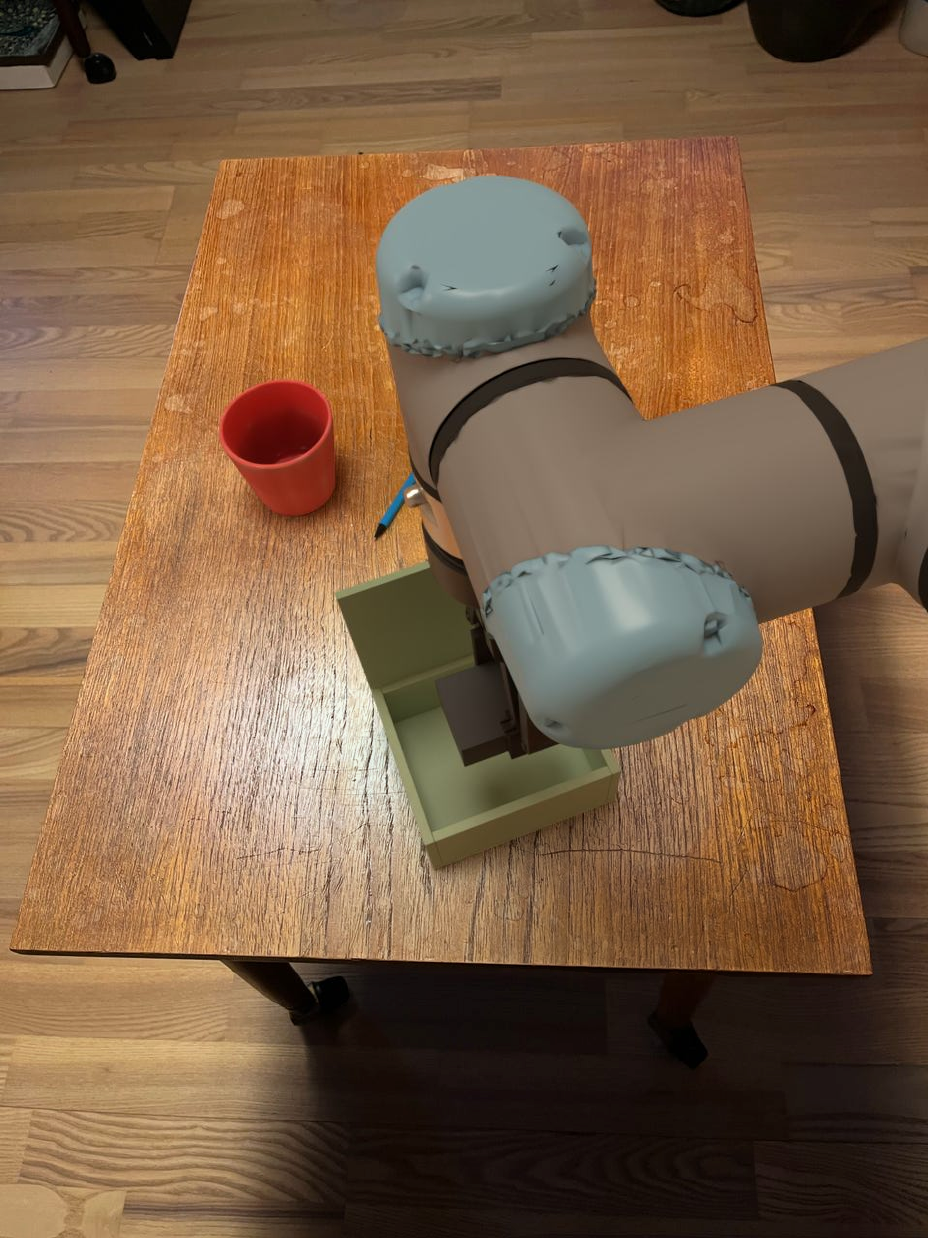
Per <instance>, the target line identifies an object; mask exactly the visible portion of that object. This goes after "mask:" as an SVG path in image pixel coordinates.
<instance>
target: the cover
mask: <svg viewBox="0 0 928 1238" xmlns="http://www.w3.org/2000/svg"><path fill="white" fill-rule="evenodd" d="M334 596H335V599H336V601H337V604H338V607H339V609H340V613H341V615H342V617H343V620H344V622H345V623H344V624H345V626H346V629H347V630H348V634H349V636H350V639H351V642H352V644H353V647H354V649H355V652H356V655H357V657H358V660H359V663H360V666H361V668H362V670H363V673H364V676H365V679H366V681H367V684H368V687H369V690H371V689H374V688H377V687H380V686H383V685H386V684H388V683H391V682H394V681H397V680H400V679H402V678H405V677H408V676H411V675H414V674H416V673H419V672H422V671H425V670H428V669H430V668H433V667H436V666H439V665H442V664H444V663H447V662H450V661H453V660H456V659H458V658H461V657H464V656H467V655H470V654H472V653H473V646H472V639H471V631H470V630H471V629H474V628H475V625H471V624H470V622H469V621H467V619H466V615H465V614H466V612H465V610H466V605H464V604H462V603H460V602H458V601H456V600H455V599H453V598H452V597H451V596H450V595H448V594H447V593H446V592H445V591H444V590H443V589H442V588H441V586H440V585H439V584H438V582H437V581H436V579H435V578H434V576H433V574H432V572H431V569H430V566H429V562H428V560H425V561H423V562H419V563H416V564H413V565H410V566H408V567H405V568H401V569H399V570H396V571H393V572H390V573H388V574H387V573H386V574H385V575H382V576H378V577H377V578H372V579H370V580H367V581H363V582H361V583H359V584H355V585H353V586H349V587H347V588H344V589H341V590H337V591H335V592H334Z"/></svg>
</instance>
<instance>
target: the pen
mask: <svg viewBox="0 0 928 1238" xmlns="http://www.w3.org/2000/svg"><path fill="white" fill-rule="evenodd" d="M414 484H416V481H415V479H414V475H413V471H412V470H411V473H410V474H409V476H408V477H407V478H406V480H405V482H404V483H403V485H402V487H401V488H400V490H399V491H398V493H397V495H396V496H395V498H393V499H394V500H393V501H392V502H391V504H390V506H389V507H388V509H386V511H385V513H384V514H383V516H382V518H381V519H380V521H379V522H378V526H377V527H376V530H375V533H374V536H373V540H377V538H379V537H380V536H381V535H382V534H383V533H384V532H385V531H386V530H387V529H388V527H389V525H390V524H391V522H392V521H393V519H394V518H395V516H396V514H397V513H398V511H399V510H400V508H401V507H402V505H403V503H405V499H404V496H403V491H404V489H405V488H408V487H410V486H412V485H414Z"/></svg>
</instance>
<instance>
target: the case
mask: <svg viewBox="0 0 928 1238" xmlns="http://www.w3.org/2000/svg"><path fill="white" fill-rule="evenodd" d="M472 667H475V661H474V653H472V654H470V655H467V656H464V657H461V658H458V659H456V660H453V661H450V662H447V663H444V664H442V665H439V666H436V667H433V668H430V669H428V670H425V671H422V672H419V673H416V674H414V675H411V676H408V677H405V678H402V679H400V680H397V681H394V682H391V683H388V684H386V685H383V686H380V687H377V688H374V689H370V692H371V695H372V698H373V701H374V703H375V707H376V710H377V713H378V716H379V718H380V721H381V725H382V727H383V729H384V730H383V731H384V733H385V736H386V738H387V742H388V744H389V747H390V750H391V752H392V753H391V754H392V756H393V758H394V761H395V764H396V767H397V770H398V772H399V775H400V779H401V781H402V784H403V787H404V790H405V793H406V796H407V799H408V802H409V805H410V808H411V810H412V814H413V816H414V819H415V823H416V825H417V827H418V828H417V829H418V831H419V835H420V837H421V840H422V843H423V845H424V848H425V851H426V854H427V856H428V858H429V861H430V863H431V866H432V869H433V870H434V871H436V870H438V869H441V868H443V867H446V866H448V865H451V864H453V863H456V862H460V861H461V860H464V859H467V858H469V857H472V856H474V855H477V854H480V853H482V852H485V851H487V850H490V849H493V848H495V847H498V846H500V845H503V844H505V843H506V844H507V843H508V842H511V841H513V840H516V839H519V838H521V837H524V836H528V835H529V834H532V833H534V832H537V831H541V830H542V829H545V828H547V827H550V826H552V825H555V824H557V823H560V822H563V821H565V820H568V819H572V818H574V817H577V816H579V815H582V814H585V813H586V812H589V811H592V810H594V809H597V808H600V807H602V806H605V805H607V804H610V803H612V802H613V803H614V802H615V801H616V798H617V792H618V789H619V784H620V778H621V775H622V769H621V767H620V765H619V763H618V760H617V758H616V756H615V754H614V752H613V749H603V750H590V749H580V748H573V747H569V746H565V745H562V744H558V745H555V746H552V747H549V748H547V749H544V750H541V751H539V752H536V753H533V754H530V755H528V754H526V755H523V756H521V757H518V758H515V759H512V760H511V757H510V755H509V752H505V753H502V754H499V755H497V756H494V757H491V758H488V759H486V760H483V761H480V762H478V763H475V764H472V765H469V766H467V767H464V764H463V762H462V759H461V756H460V754H459V751H458V748H457V746H456V743H455V741H454V738H453V735H452V733H451V730H450V727H449V725H448V722H447V720H446V717H445V714H444V712H443V709H442V706H441V704H440V701H439V698H438V694H437V689H436V685H435V680H438V679H441V678H444V677H446V676H449V675H452V674H455V673H458V672H461V671H463V670H466V669H469V668H472Z"/></svg>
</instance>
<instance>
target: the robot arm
mask: <svg viewBox="0 0 928 1238" xmlns="http://www.w3.org/2000/svg"><path fill="white" fill-rule="evenodd" d="M590 234H591V233H590V231H589V228H588V225H587V222H586V220H585V219H584V217H583V216H582V214H581V213H580V211H579V210H578V209H577V207H576V206H575V205H574V204H573V203H572V202H571V201H570V200H568V199H567V198H566V197H565V196H564V195H562V194H561V193H559V192H558V191H556V190H554V189H553V188H551V187H548V186H546V185H544V184H541V183H538V182H536V181H533V180H530V179H525V178H521V177H516V176H506V175H478V176H476V175H475V176H470V177H467V178H464V179H463V180H459V181H457V182H451V183H447V184H439V185H437V186H434V187H432V188H429V189H427V190H425V191H424V192H422V193H420V194H418V195H417V196H415V197H414V198H412V199H411V200H409V201H408V202H407V203H406V204H404V206H402V207H401V208H400V209H398V210H397V212H396V213H395V214H394V215H393V217H391V219H390V220H389V222H388V223H387V225H386V226H385V227H384V229H383V231H382V234H381V237H380V238H379V242H378V245H377V247H376V251H375V259H374V260H375V265H374V266H375V274H376V276H375V277H376V284H377V290H378V299H379V306H380V308H379V309H380V311H379V313H378V315H377V323H378V327H379V329H380V331H381V333H383V336H384V338H385V341H386V346H387V351H388V355H389V360H390V366H391V369H392V375H393V380H394V384H395V389H396V394H397V398H398V403H399V409H400V414H401V418H402V421H403V426H404V430H405V432H404V433H405V437H406V441H407V449H408V450H407V451H408V456H409V462H410V467H411V472H412V471H413V475H414V479H415V481H416V483H415V484H414V485H412V486H410V487H408V488H405V489H404V491H403V496H404V499H405V500H404V504H405V505H406V506H407V507H408V508H410V509H413V508H417V507H418V508H419V514H420V517H421V529H422V535H423V540H424V545H425V551H426V556H427V561H428V562H429V566H430V569H431V572H432V574H433V576H434V578H435V579H436V581H437V582H438V584H439V585H440V586H441V588H442V589H443V590H444V591H445V592H446V593H447V594H448V595H450V596H451V597H452V598H453V599H455V600H456V601H458V602H460V603H462V604H464V605H466V610H465V612H466V614H465V615H466V619H467V621H469V622H470V624H471V625H475V628H474V629H471V630H470V631H471V639H472V646H473V653H474V661H475V666H477V665H480V664H483V663H486V662H489V661H492V660H494V659H495V661H497V662H500V666H501V671H502V676H503V681H504V686H505V691H506V696H507V701H508V706H509V709H508V710H505V711H504V712H505V719H503V720H500V721H499V722H500V725H501V728H502V731H503V733H504V735H505V737H507V748H508V752H509V755H510V757H511V760H512V759H515V758H518V757H521V756H523V755H526V754H528V755H530V754H533V753H536V752H539V751H541V750H544V749H547V748H549V747H552V746H555V745H558V744H562V745H565V746H569V747H573V748H580V749H590V750H603V749H611V750H613V749H619V748H620V749H621V748H625V747H630V746H634V745H638V744H642V743H645V742H648V741H651V740H655V739H657V738H658V739H659V738H660V737H663V736H666V735H668V734H671V733H673V732H674V731H676V729H678V728H679V727H680V726H682V725H683V724H685V723H687V722H689V721H691V720H696V719H699V718H703V717H705V716H707V715H709V714H710V713H712V712H714V711H715V710H717V709H718V708H720V707H722V706H723V705H724V704H725V703H727V702H728V701H729V700H731V699H732V698H733V697H734V696H735V695H736V694H737V693H739V692H740V691H741V690H742V689H743V688H744V687H745V686H746V685H747V683H748V682H749V681H750V680H751V679H752V677H753V676H754V674H755V672H756V671H757V669H758V668H759V665H760V663H761V660H762V657H763V653H764V651H763V650H764V640H763V635H762V632H761V628H760V625H761V624H765V623H767V622H771V621H773V620H777V619H780V618H784V617H786V616H789V615H793V614H796V613H799V612H803V611H805V610H808V609H811V608H815V607H818V606H821V605H824V604H827V603H830V602H832V601H835V600H836V601H837V600H839V599H842V598H845V597H848V596H851V595H854V594H857V593H861V592H865V591H869V590H871V589H875V588H878V587H881V586H885V585H888V584H894V585H898V586H899V587H901V588H902V589H903V590H904V591H905V592H906V593H907V594H908V595H909V596H910V597H911V598H912V599H913V600H914V601H915V603H917V604H918V605H920V606H921V608H923V609H924V610H925V611H926V613H927V614H928V336H925V337H922V338H919V339H916V340H913V341H909V342H906V343H903V344H899V345H897V346H893V347H890V348H886V349H884V350H880V351H877V352H873V353H871V354H866V355H864V356H860V357H858V358H854V359H852V360H847V361H845V362H842V363H841V362H840V363H838V364H835V365H831V366H828V367H825V368H822V369H818V370H815V371H812V372H809V373H806V374H802V375H799V376H795V377H792V378H789V379H786V380H783V381H780V382H775V383H772V384H768V385H765V386H761V387H758V388H756V389H755V388H754V389H752V390H748V391H744V392H741V393H738V394H733V395H731V396H728V397H723V398H721V399H717V400H714V401H710V402H707V403H703V404H700V405H696V406H693V407H689V408H686V409H681V410H677V411H675V412H672V413H668V414H665V415H662V416H659V417H655V418H649V419H645V417H644V416H643V415H642V414H641V412H640V410H638V409H637V407H636V406H635V403H634V400H633V399H632V397H631V395H630V393H629V392H628V390H627V388H626V386H625V385H624V384H623V382H622V380H621V379H620V377H619V375H618V374H617V372H616V370H615V369H614V367H613V364H612V363H611V362H610V360H609V358H608V356H607V355H606V352H605V351H604V349H603V347H602V345H601V344H600V342H599V340H598V337H597V335H596V333H595V330H594V327H593V322H592V316H591V309H592V305H593V303H594V301H595V300H596V298H597V290H598V289H597V280H596V277H595V276H594V266H593V265H594V264H593V246H592V239H591V235H590Z"/></svg>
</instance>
